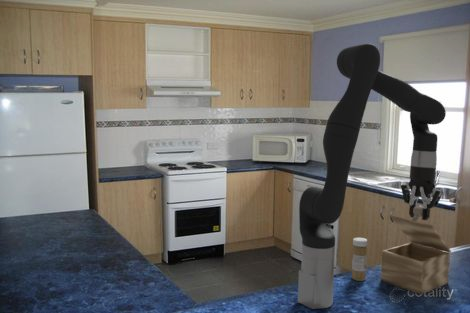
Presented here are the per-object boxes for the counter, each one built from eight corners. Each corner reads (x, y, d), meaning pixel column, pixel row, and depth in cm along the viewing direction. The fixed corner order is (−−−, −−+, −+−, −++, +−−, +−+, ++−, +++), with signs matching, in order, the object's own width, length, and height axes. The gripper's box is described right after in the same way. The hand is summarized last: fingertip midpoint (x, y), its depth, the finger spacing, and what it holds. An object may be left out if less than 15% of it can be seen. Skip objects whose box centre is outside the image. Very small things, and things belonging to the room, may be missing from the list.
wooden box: (419, 294, 142) (421, 262, 141) (380, 280, 154) (382, 250, 153) (448, 283, 152) (450, 253, 151) (409, 270, 163) (411, 242, 162)
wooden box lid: (430, 226, 142) (439, 207, 144) (390, 216, 153) (399, 199, 156) (450, 252, 151) (458, 234, 153) (411, 242, 162) (419, 225, 164)
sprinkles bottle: (357, 275, 158) (358, 236, 156) (368, 279, 154) (370, 239, 153) (348, 278, 155) (350, 238, 154) (360, 282, 151) (362, 241, 150)
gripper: (396, 162, 153) (392, 215, 154) (437, 168, 141) (433, 224, 143) (410, 162, 157) (406, 213, 159) (451, 167, 146) (446, 222, 147)
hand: (418, 218), depth 151 cm, fingers closed on wooden box lid, 3 cm apart
